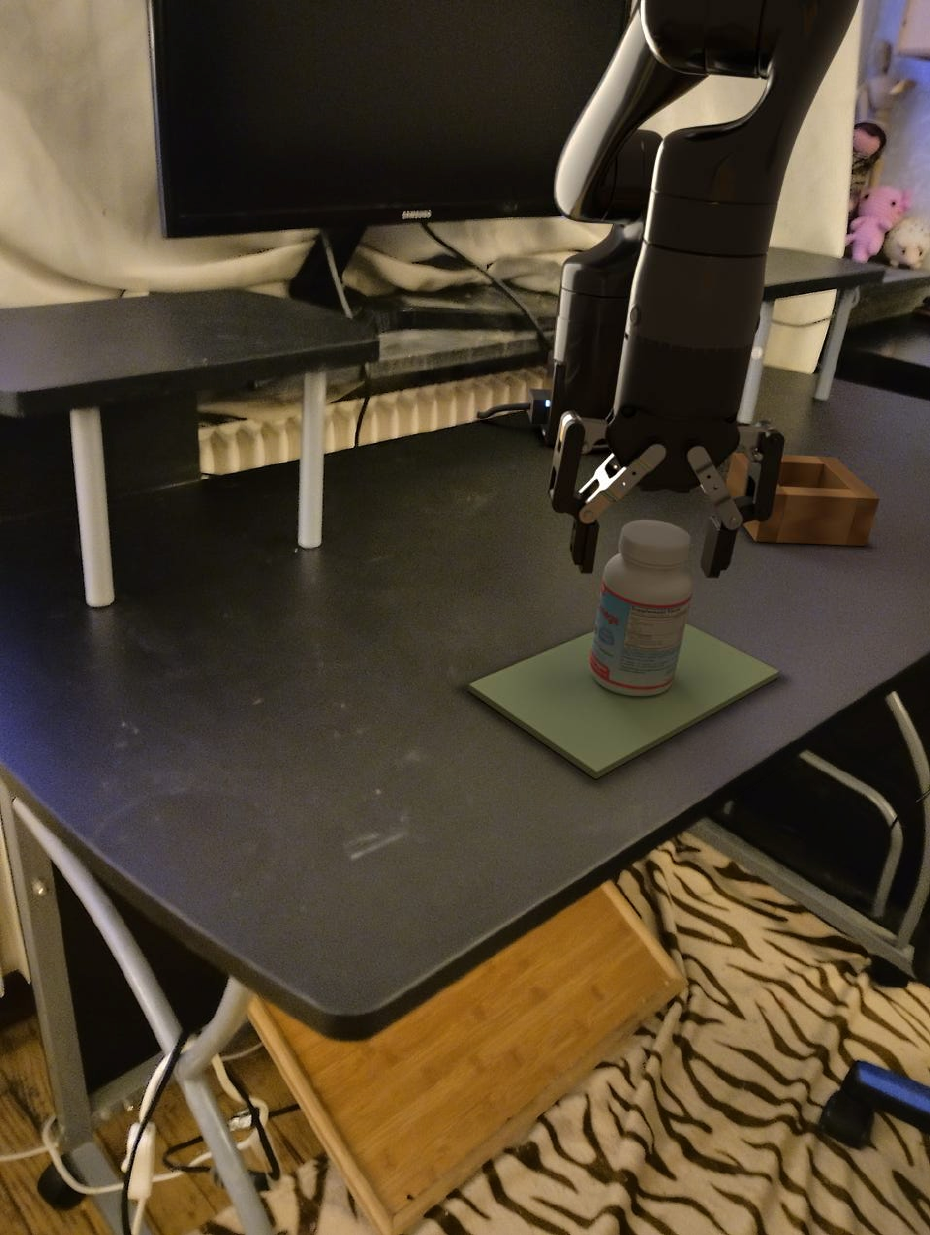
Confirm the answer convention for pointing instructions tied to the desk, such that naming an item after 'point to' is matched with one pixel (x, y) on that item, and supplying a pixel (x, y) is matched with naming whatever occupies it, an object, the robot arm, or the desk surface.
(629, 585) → the pill bottle
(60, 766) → the desk surface
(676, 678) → the mat
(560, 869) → the desk surface
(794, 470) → the stand
